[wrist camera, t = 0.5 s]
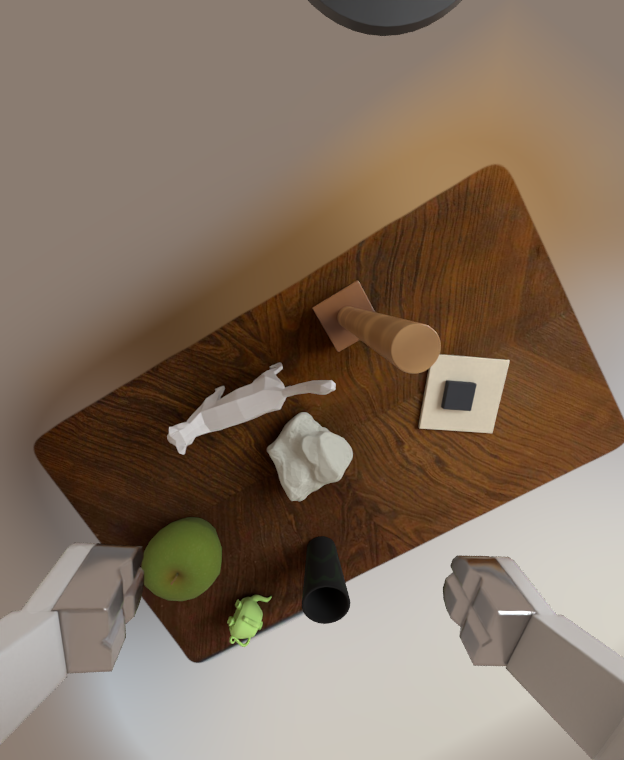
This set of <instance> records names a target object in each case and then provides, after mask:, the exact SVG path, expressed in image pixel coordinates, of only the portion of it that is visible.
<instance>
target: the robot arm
mask: <svg viewBox="0 0 624 760" xmlns="http://www.w3.org/2000/svg"><path fill="white" fill-rule="evenodd" d="M143 558H144V552H143V547H142V546H133V545H116V544H99V543H98V544H91V543H73V544H72V545H70V546H69V547H68V548H67V549H66V550H65V551H64V553H63V554H62V555H61V557H60V558H59V560H58V561H57V562H56V563H55V565H54V566H53V568H52V569H51V570H50V571H49V573H48V574H47V576H46V577H45V578H44V580H43V581H42V582H41V584H40V585H39V586H38V588H37V589H36V590H35V592H34V593H33V594H32V596H31V597H30V598H29V600H28V601H27V602H26V604H25V605H24V606H23V608H22V609H21V610H20V611H11V612H10V613H8V614H7V615H6V616H4V617H2V618H1V619H0V744H1V743H2V742H3V741H4V740H5V739H6V738H7V737H8V736H9V735H10V734H11V733H12V732H13V731H14V730H15V729H16V728H17V727H18V726H19V725H20V724H21V723H22V722H23V721H24V720H25V719H26V718H27V717H28V716H29V715H30V714H31V713H32V712H33V711H34V710H35V709H36V708H37V707H38V706H39V705H40V704H41V703H42V702H43V701H44V699H46V697H48V695H49V694H51V692H53V690H54V689H55V688H56V687H57V686H58V685H59V684H60V683H61V682H62V681H63V680H64V679H65V678H66V677H67V673H86V672H107V671H112V670H113V667H114V665H115V662H116V660H117V658H118V655H119V653H120V650H121V648H122V645H123V643H124V640H125V638H126V630H125V624H127V623H128V622H129V621H130V620H131V619H132V618H133V617H134V616H135V614H136V611H137V608H138V606H139V603H140V600H141V596H142V592H143V587H144V571H143V570H142V569H141V568H140V565H141V563H142V561H143ZM451 568H452V570H453V573H452V574H451V575H449V576H448V577H447V578H446V579H445V583H444V586H443V596H444V597H443V598H444V602H445V606H446V609H447V611H448V613H449V615H450V618H451V619H452V620H454V622H456V623H457V624H458V625H459V626H460V627H461V628H460V638H461V640H462V642H463V644H464V646H465V649H466V650H467V652H468V655H469V657H470V659H471V661H472V663H473V665H475V666H476V665H477V666H506V669H507V670H508V671H509V672H510V673H511V674H512V675H513V677H515V679H516V680H517V681H518V682H519V683H520V684H521V685H522V686H523V687H524V688H525V689H526V690H527V691H528V692H529V693H530V694H531V695H532V696H533V698H534V699H535V700H536V701H537V702H538V703H539V704H540V705H541V706H542V707H543V708H544V709H545V710H546V711H547V712H548V713H549V714H550V715H551V717H552V718H553V719H554V720H555V721H556V722H557V723H558V724H559V725H560V726H561V727H562V728H563V729H564V730H565V731H566V732H567V733H568V734H569V735H570V737H572V739H573V740H574V741H576V743H577V744H578V745H579V746H580V747H581V748H582V749H583V750H584V751H585V752H586V753H587V754H588V755H589V757H590V758H591V759H592V760H624V658H623V657H622V656H620V655H619V654H617V653H616V652H615V651H613V650H612V649H610V648H609V647H607V646H606V645H605V644H603V643H602V642H600V641H599V640H598V639H596V638H595V637H593V636H592V635H590V634H589V633H588V632H586V631H584V630H583V629H582V628H580V627H579V626H578V625H576V624H575V623H573V622H572V621H570V620H569V619H568V618H566V617H565V616H563V615H557V614H556V613H555V612H554V611H553V609H552V608H551V607H550V605H549V604H548V603H547V602H546V600H545V599H544V598H543V596H542V595H541V594H540V593H539V592H538V590H537V589H536V588H535V586H534V585H533V584H532V583H531V581H530V580H529V579H528V577H527V576H526V575H525V574H524V572H523V571H522V570H521V569H520V567H519V566H518V565H517V564H516V562H515V561H514V560H512V559H511V558H509V557H489V556H456V557H455V558H454V559H453V560H452V563H451Z"/></svg>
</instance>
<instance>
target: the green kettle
mask: <svg viewBox="0 0 624 760" xmlns="http://www.w3.org/2000/svg"><path fill="white" fill-rule="evenodd" d="M271 597H272V596H270V597H268V598H266V597H263V596H260V595H253V596H252V597H245V598H243V599H242V600H241V602H240V601H239V600H237V601H236V604H235V607H236V608H237V609H236V611H235V614H234V616H233V617H232V616H230V617H229V619H228V621H227V623H229V626H230V628H229V630H230V633H231V635H232V636H231V637H230V643H235V640H236V641H237V643H238V644H239V645H240V646H242V647H245V646H247V645H248V644H249V642H250V637H253V636H254V635H255V634H256V632H257V630H260V629H261V627H262V624H263V622H261V620H262V616H263V613H262V610H261V609H260V607H259V605H258V604H257V601H263V602H268V601H269V600H270V599H271ZM232 638H233V639H234V641H232ZM238 638H239V639H244V638H248V640H247V642H246V643H245V644H243V643H241V642H240V641H239V640H238Z"/></svg>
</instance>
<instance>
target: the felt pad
mask: <svg viewBox="0 0 624 760" xmlns="http://www.w3.org/2000/svg"><path fill="white" fill-rule="evenodd" d="M476 386H477V384H476V383H474V382H463V381H450V380H446V383H445V388H444V393H443V399H442V404H441V407H442V408H443V409H449V410H463V411H471V408H472V404H473V399H474V395H475V390H476Z"/></svg>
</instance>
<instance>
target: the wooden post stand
mask: <svg viewBox="0 0 624 760" xmlns="http://www.w3.org/2000/svg"><path fill="white" fill-rule="evenodd" d="M312 309H313V310H314V312H315V314H316V316H317V317H318V319H319V321H320V323H321V324H322V326H323V328H324V329H325V331H326V333H327V335H328V336H329V338H330V340H331V342H332V343H333V345H334V347H335V348H336V350H337V352H340V351H341V350H343V349H345V348H346V347H348V346H350V345H351V344H353V343H355V342H357V341H358V340H361V341H362V342H364V343H365V344H366V345H368V346H369V347H371V348H372V349H373V350H375V351H376V352H377V353H379V354H380V355H381V356H383V357H384V358H385V359H387V360H388V361H389V362H391V363H392V364H393V365H395V366H396V367H397V368H399V369H400V370H402V371H404V372H407V373H413V374H415V373H421V372H424V371H426V370H427V369H429V368H430V367H431V366H432V365H433V364H434V363H435V362H436V361H437V359H438V357H439V354H440V350H441V343H440V339H439V336H438V334H437V333H436V331H435V330H434V329H433V328H431V327H430V326H428V325H425V324H422V323H417V322H413V321H409V320H405V319H401V318H396V317H392V316H388V315H384V314H379V313H375V311H374V309H373V307H372V305H371V304H370V302H369V300H368V298H367V296H366V294H365V292H364V290H363V288H362V286H361V285H360V283H359V281H358V280H357V281H355V282H353V283H351V284H350V285H348V286H347V287H345V288H343V289H342V290H340V291H338V292H337V293H335V294H333V295H332V296H330V297H328V298H327V299H325V300H323V301H322V302H320V303H319V304H317V305H315V306H314V307H312Z"/></svg>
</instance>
